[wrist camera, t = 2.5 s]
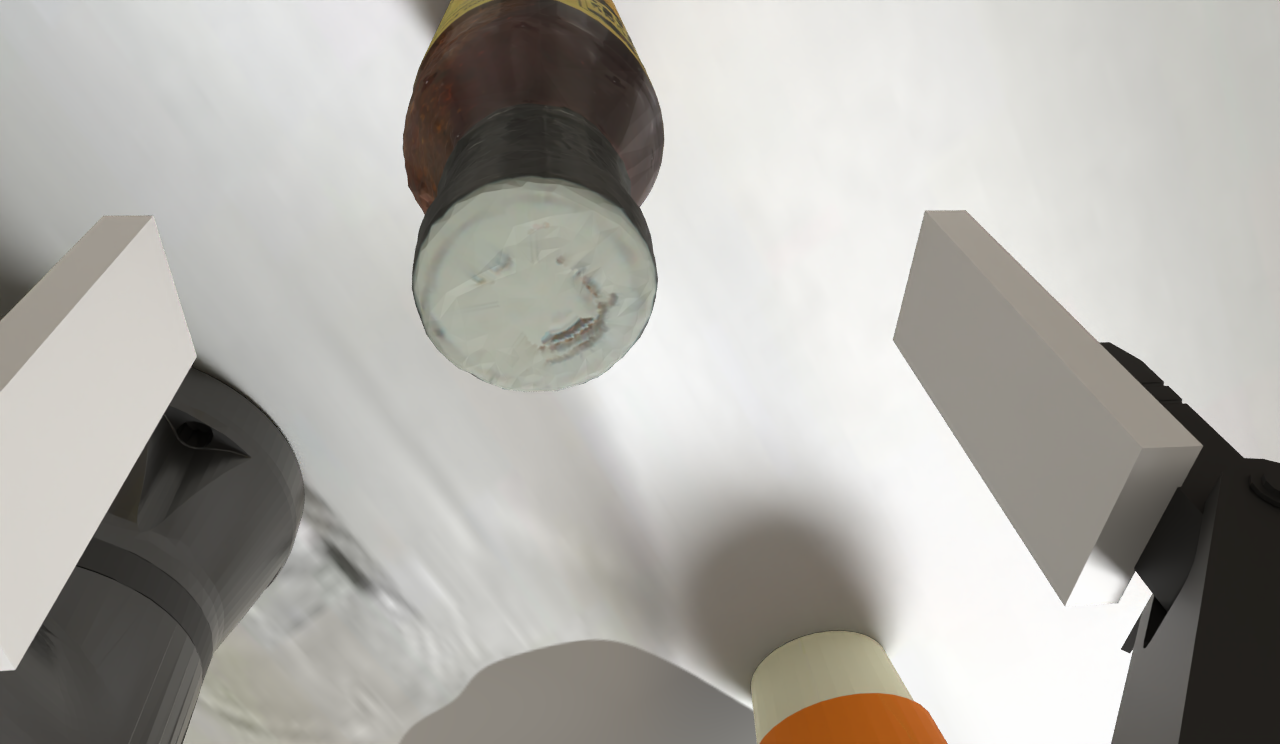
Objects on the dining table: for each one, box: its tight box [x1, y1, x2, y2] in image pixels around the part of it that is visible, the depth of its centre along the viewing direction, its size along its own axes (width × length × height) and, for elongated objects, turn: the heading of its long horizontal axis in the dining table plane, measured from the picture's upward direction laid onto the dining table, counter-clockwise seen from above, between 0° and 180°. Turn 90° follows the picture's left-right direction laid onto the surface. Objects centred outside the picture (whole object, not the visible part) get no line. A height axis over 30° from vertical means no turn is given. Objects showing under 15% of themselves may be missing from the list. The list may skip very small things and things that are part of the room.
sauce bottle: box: [403, 0, 664, 392], centre depth 22 cm, size 7×6×20 cm
